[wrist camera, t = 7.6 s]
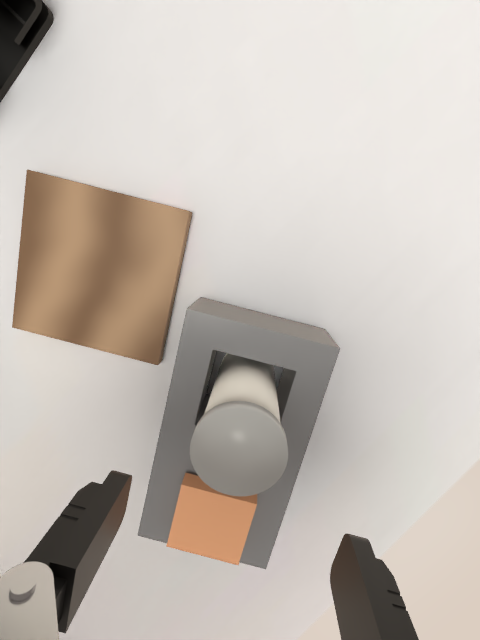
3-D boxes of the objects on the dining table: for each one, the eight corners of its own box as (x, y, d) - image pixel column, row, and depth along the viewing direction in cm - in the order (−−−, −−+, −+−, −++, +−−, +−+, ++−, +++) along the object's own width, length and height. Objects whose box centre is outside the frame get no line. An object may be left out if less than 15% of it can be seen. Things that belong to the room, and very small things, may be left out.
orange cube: (182, 495, 28) (166, 546, 23) (195, 442, 26) (181, 484, 22) (242, 511, 27) (238, 565, 23) (257, 458, 26) (257, 504, 22)
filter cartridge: (211, 390, 27) (180, 482, 16) (225, 336, 26) (201, 397, 15) (267, 404, 27) (273, 506, 16) (283, 351, 26) (300, 422, 15)
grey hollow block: (157, 488, 29) (137, 535, 25) (201, 297, 25) (186, 308, 21) (264, 515, 29) (265, 569, 25) (324, 329, 25) (340, 348, 21)
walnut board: (21, 324, 27) (12, 327, 26) (36, 172, 24) (27, 169, 23) (161, 360, 27) (157, 365, 26) (192, 212, 24) (189, 211, 23)
